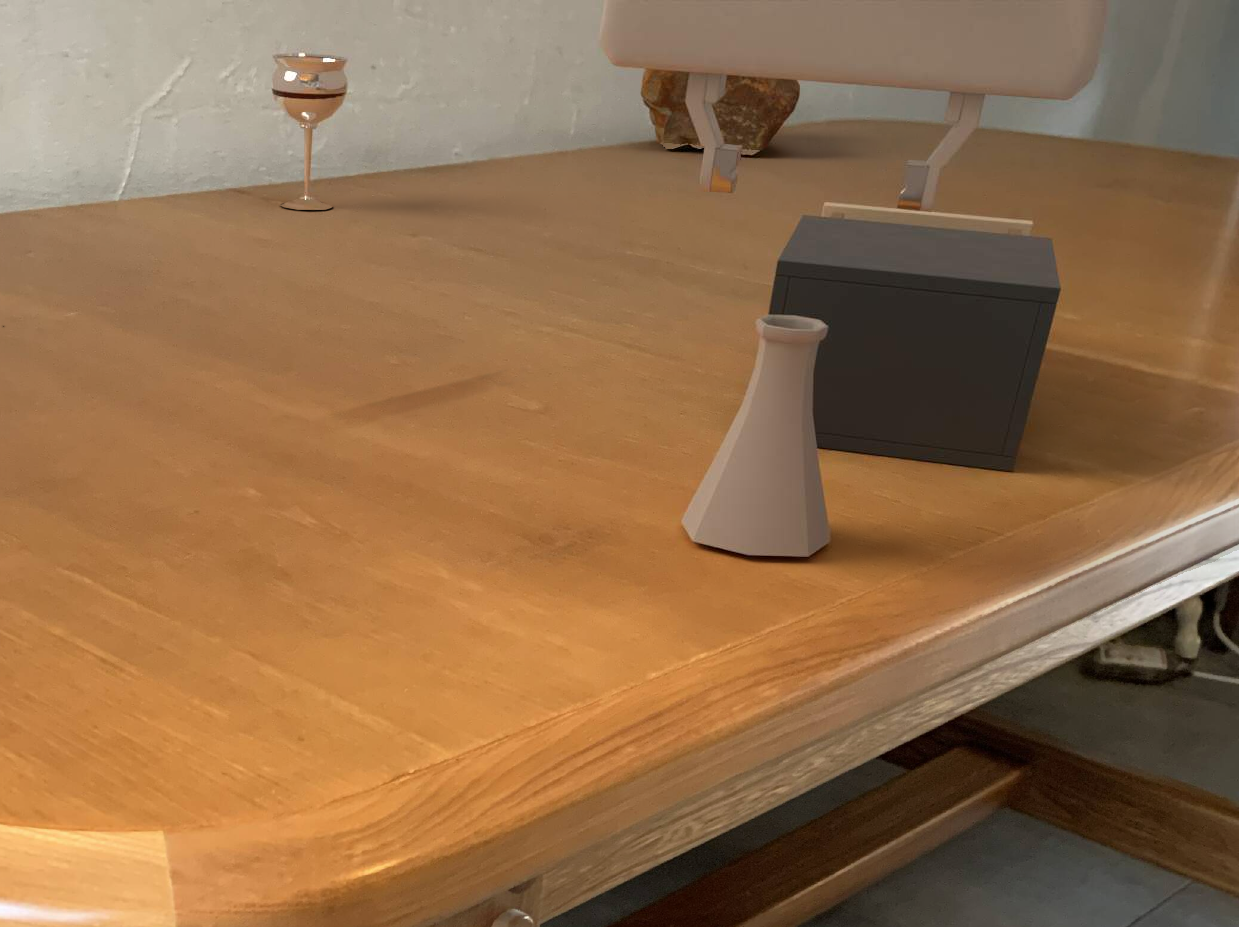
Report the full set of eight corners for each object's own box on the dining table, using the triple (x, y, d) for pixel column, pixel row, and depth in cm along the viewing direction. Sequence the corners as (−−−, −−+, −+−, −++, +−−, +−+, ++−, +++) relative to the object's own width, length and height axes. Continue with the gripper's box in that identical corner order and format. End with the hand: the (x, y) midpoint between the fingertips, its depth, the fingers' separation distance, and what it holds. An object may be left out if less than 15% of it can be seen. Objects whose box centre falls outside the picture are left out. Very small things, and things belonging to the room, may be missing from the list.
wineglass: (358, 208, 154) (364, 59, 148) (306, 215, 150) (310, 63, 144) (305, 197, 158) (309, 51, 152) (253, 204, 154) (255, 54, 147)
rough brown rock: (744, 175, 186) (782, 21, 177) (610, 143, 192) (640, -7, 184) (816, 161, 202) (854, 20, 194) (690, 132, 209) (722, -6, 200)
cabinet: (774, 375, 109) (802, 214, 104) (1010, 402, 105) (1052, 237, 100) (746, 438, 96) (777, 259, 91) (1013, 471, 93) (1061, 287, 88)
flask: (833, 523, 84) (876, 313, 79) (825, 571, 78) (871, 348, 73) (688, 505, 86) (720, 298, 80) (670, 550, 80) (703, 330, 74)
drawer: (808, 309, 122) (830, 191, 117) (1001, 329, 119) (1031, 209, 114) (782, 370, 106) (806, 237, 102) (1004, 395, 103) (1038, 259, 99)
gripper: (607, -199, 66) (567, 187, 74) (1163, -177, 61) (1058, 233, 69) (634, -192, 71) (593, 168, 79) (1150, -172, 66) (1053, 210, 74)
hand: (814, 199), depth 74 cm, fingers open, 7 cm apart
